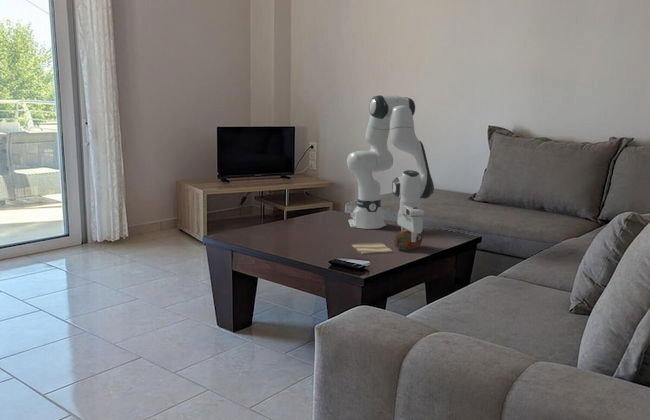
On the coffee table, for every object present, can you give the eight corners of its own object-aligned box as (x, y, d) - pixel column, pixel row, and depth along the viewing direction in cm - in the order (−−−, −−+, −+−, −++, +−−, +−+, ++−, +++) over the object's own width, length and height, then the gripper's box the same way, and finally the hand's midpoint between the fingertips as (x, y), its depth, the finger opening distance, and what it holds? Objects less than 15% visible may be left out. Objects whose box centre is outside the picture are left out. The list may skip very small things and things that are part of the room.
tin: (397, 251, 254) (398, 232, 253) (392, 250, 257) (393, 231, 255) (422, 246, 263) (423, 228, 261) (417, 245, 266) (418, 227, 264)
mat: (351, 245, 263) (351, 244, 263) (381, 244, 267) (381, 242, 267) (361, 254, 249) (361, 252, 249) (393, 252, 252) (393, 251, 252)
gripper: (394, 204, 266) (393, 234, 268) (412, 212, 246) (410, 245, 249) (407, 204, 267) (406, 233, 270) (426, 212, 248) (424, 244, 250)
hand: (408, 239), depth 259 cm, fingers open, 8 cm apart
